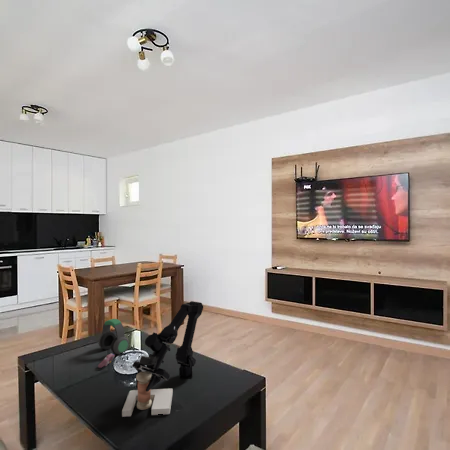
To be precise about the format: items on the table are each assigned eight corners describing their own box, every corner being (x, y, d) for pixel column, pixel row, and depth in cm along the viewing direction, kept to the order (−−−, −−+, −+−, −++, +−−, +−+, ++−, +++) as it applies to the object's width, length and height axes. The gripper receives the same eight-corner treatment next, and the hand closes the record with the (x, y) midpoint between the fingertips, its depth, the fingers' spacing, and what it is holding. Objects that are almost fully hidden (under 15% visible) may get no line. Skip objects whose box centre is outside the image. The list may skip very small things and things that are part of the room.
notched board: (172, 393, 154) (172, 388, 154) (169, 414, 138) (169, 408, 138) (130, 395, 152) (130, 390, 152) (122, 416, 136) (122, 410, 136)
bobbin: (147, 399, 149) (147, 369, 148) (154, 405, 144) (154, 375, 143) (134, 404, 145) (133, 374, 144) (140, 411, 140) (140, 380, 139)
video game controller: (103, 371, 179) (108, 361, 178) (96, 367, 180) (101, 356, 179) (112, 363, 189) (117, 353, 188) (106, 359, 190) (111, 349, 189)
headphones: (96, 350, 203) (96, 319, 203) (111, 344, 212) (111, 315, 212) (115, 358, 192) (115, 325, 192) (130, 351, 201) (130, 320, 201)
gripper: (134, 344, 151) (116, 377, 142) (165, 352, 142) (147, 388, 133) (146, 354, 158) (130, 386, 149) (176, 362, 149) (160, 397, 140)
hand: (141, 389), depth 143 cm, fingers closed on bobbin, 6 cm apart
